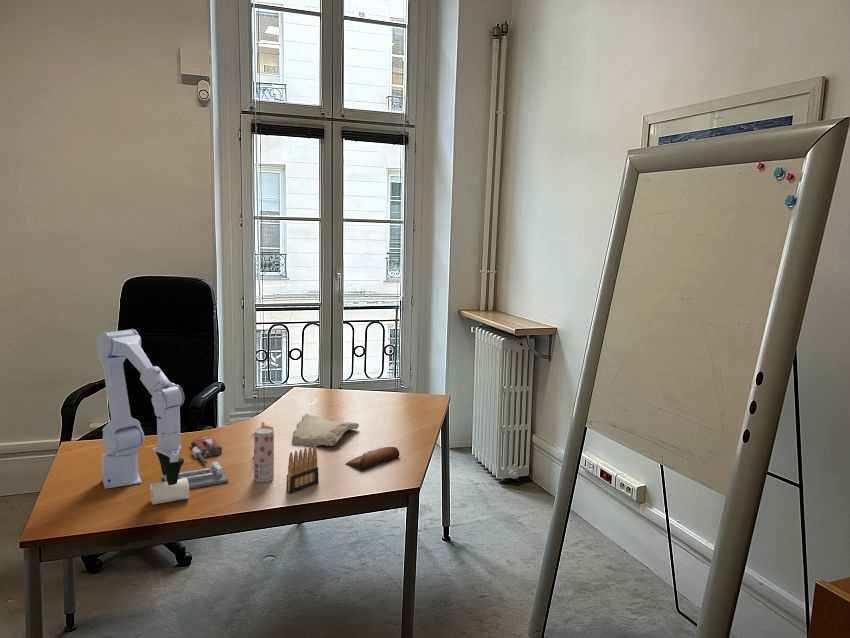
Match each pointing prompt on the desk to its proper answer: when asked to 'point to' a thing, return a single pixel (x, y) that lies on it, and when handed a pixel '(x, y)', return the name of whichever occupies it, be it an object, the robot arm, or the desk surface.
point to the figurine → (264, 427)
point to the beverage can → (263, 455)
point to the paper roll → (169, 491)
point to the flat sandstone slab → (320, 431)
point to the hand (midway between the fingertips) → (169, 479)
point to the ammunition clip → (302, 470)
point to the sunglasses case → (373, 458)
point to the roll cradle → (203, 476)
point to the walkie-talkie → (205, 448)
